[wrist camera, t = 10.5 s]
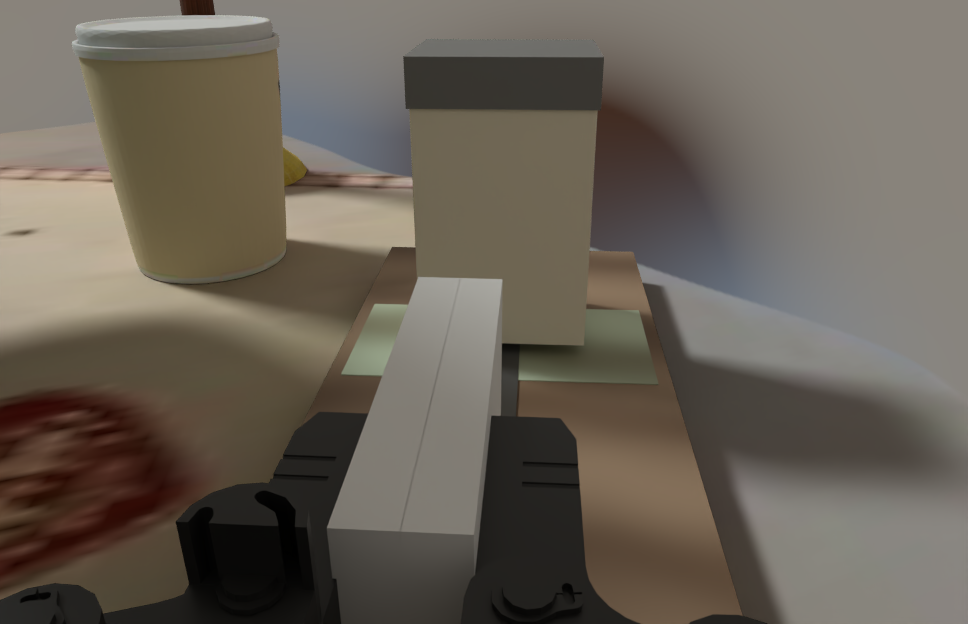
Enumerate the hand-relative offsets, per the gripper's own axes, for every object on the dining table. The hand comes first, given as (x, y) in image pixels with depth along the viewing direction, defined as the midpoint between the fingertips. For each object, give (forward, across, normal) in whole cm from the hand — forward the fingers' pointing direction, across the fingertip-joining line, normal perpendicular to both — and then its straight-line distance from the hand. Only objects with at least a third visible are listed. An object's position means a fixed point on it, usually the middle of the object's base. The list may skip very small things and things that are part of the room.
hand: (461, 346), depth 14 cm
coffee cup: (+26, -16, -9) cm, 32 cm away
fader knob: (+15, 0, -6) cm, 16 cm away
